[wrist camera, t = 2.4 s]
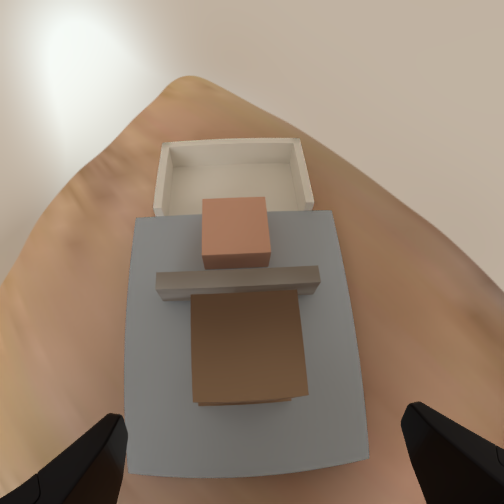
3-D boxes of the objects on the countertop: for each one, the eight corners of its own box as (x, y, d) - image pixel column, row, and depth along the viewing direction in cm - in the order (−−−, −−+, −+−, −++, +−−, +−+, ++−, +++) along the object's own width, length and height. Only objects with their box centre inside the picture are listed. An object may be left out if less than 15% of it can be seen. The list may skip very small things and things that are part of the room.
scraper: (323, 396, 17) (408, 380, 8) (165, 405, 16) (87, 400, 7) (309, 282, 20) (360, 178, 11) (165, 288, 19) (112, 186, 11)
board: (357, 454, 17) (369, 458, 15) (138, 467, 16) (128, 473, 14) (325, 225, 24) (331, 210, 23) (142, 232, 23) (135, 218, 22)
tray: (306, 225, 24) (314, 202, 22) (161, 231, 24) (152, 208, 21) (294, 162, 27) (299, 138, 25) (168, 167, 27) (162, 142, 24)
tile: (268, 266, 20) (271, 252, 19) (204, 269, 20) (201, 255, 18) (263, 214, 22) (265, 196, 20) (204, 216, 22) (202, 199, 20)
